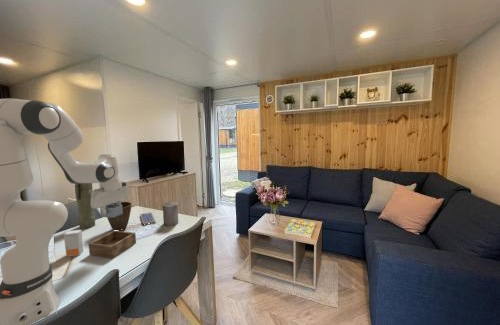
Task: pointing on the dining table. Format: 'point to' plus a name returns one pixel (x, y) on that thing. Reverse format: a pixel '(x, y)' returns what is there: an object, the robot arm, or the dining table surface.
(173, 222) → the pillar candle
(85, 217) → the thermos
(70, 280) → the dining table surface
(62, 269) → the dining table surface
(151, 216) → the solar panel
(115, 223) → the plant pot
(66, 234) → the skincare box
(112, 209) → the box
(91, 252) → the big crate
